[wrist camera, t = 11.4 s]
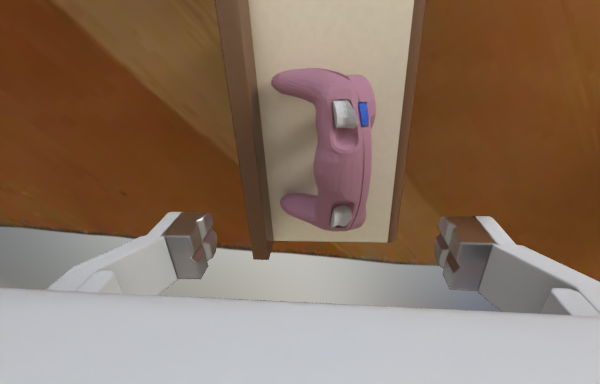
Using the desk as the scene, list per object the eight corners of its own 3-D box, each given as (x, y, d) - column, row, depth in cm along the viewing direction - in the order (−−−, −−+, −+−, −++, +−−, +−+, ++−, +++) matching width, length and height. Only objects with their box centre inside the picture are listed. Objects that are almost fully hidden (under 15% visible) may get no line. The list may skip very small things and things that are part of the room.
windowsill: (397, -10, 24) (450, -49, 13) (380, 189, 32) (404, 263, 22) (260, -1, 25) (209, -30, 14) (277, 189, 33) (253, 259, 23)
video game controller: (330, 195, 24) (382, 244, 18) (276, 207, 22) (314, 264, 17) (332, 62, 19) (402, 70, 14) (265, 67, 18) (311, 77, 12)
